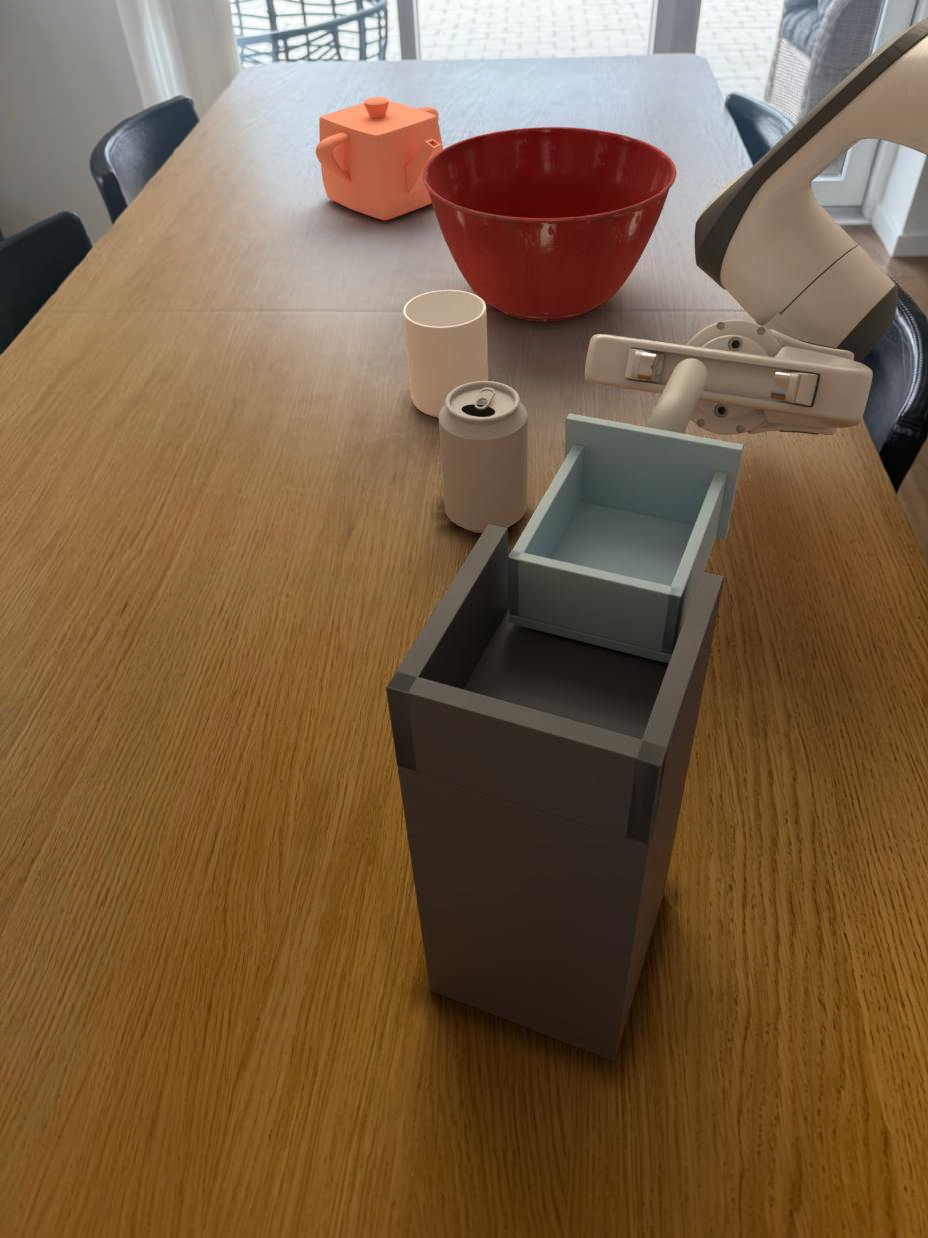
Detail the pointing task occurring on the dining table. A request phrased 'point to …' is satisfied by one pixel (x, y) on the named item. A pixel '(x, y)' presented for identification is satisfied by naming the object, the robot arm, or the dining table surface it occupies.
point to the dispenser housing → (541, 802)
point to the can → (484, 455)
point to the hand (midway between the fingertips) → (711, 375)
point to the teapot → (378, 156)
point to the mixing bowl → (548, 215)
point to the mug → (444, 345)
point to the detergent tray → (626, 527)
